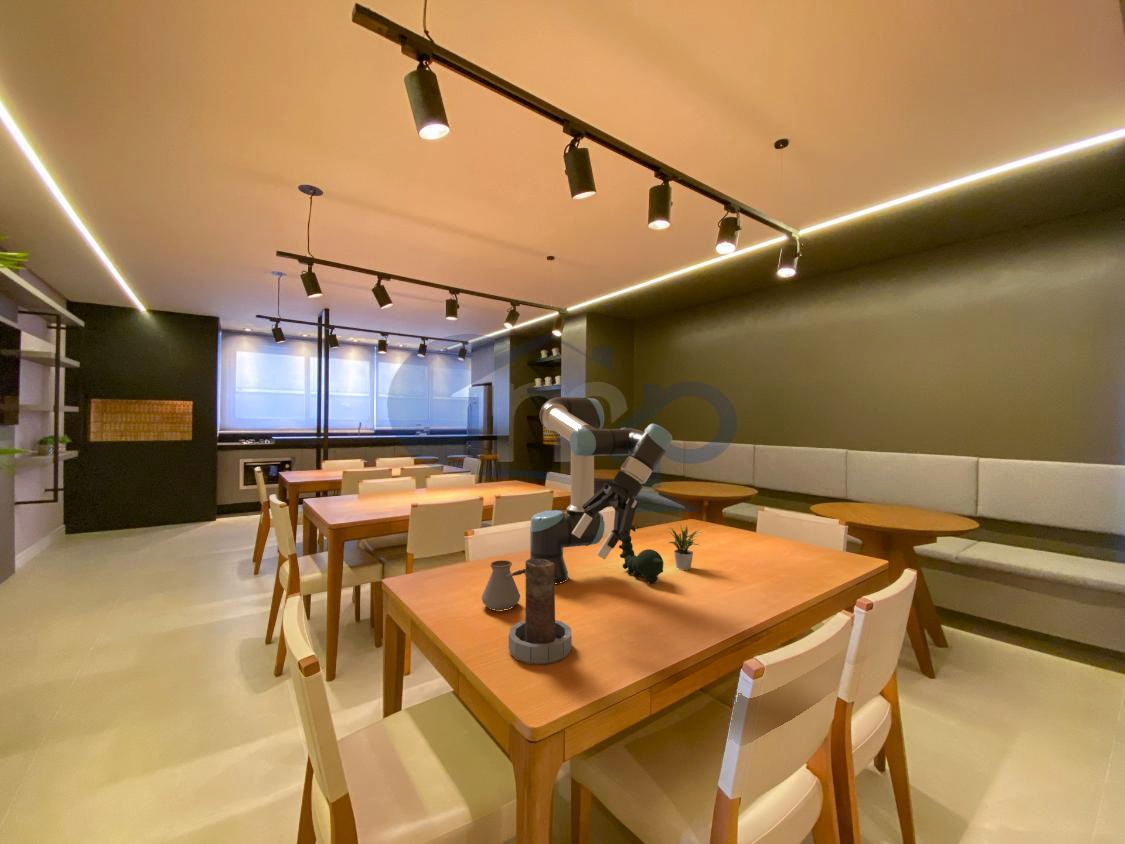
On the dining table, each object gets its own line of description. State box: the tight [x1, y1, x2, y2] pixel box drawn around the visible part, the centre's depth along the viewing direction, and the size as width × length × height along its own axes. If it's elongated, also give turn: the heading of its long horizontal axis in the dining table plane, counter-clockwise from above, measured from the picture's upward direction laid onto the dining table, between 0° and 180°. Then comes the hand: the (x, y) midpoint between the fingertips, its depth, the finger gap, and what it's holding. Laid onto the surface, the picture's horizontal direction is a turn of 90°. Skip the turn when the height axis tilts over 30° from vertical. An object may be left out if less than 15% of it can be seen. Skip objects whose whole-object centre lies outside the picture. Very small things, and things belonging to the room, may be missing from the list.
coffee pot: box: [481, 559, 526, 610], centre depth 130 cm, size 21×12×15 cm, turn 37°
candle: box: [524, 558, 556, 644], centre depth 109 cm, size 8×7×20 cm
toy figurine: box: [618, 523, 664, 584], centre depth 160 cm, size 9×19×25 cm
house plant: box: [668, 525, 703, 571], centre depth 170 cm, size 14×14×16 cm
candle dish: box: [508, 619, 573, 665], centre depth 108 cm, size 15×15×4 cm
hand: (587, 545), depth 116 cm, fingers open, 13 cm apart
